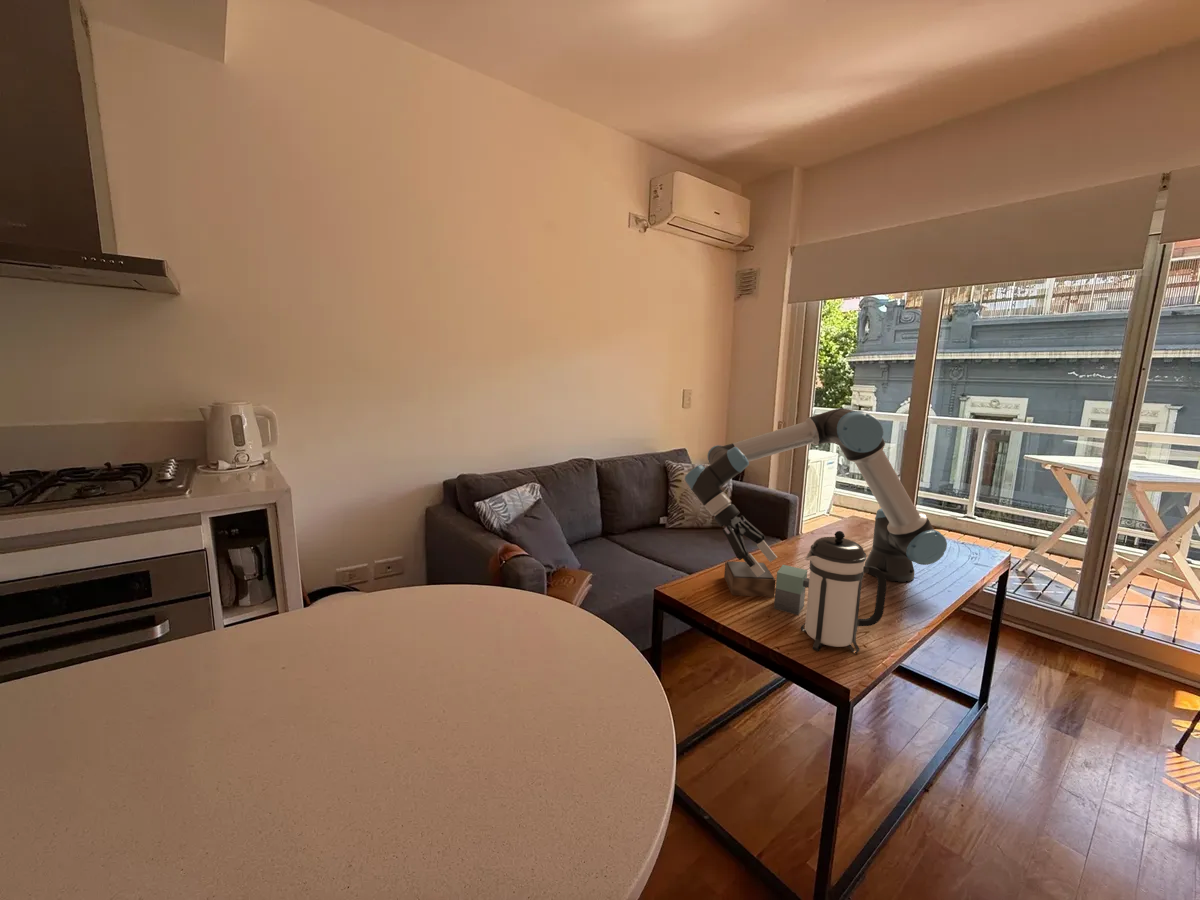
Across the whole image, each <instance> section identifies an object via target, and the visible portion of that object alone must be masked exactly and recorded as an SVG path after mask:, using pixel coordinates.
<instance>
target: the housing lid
mask: <svg viewBox="0 0 1200 900" xmlns="http://www.w3.org/2000/svg"><path fill="white" fill-rule="evenodd" d="M807 576H808V569H804V568H800V567H795V566H791V565H786V564H782V565H781V567H780V568H779V570H777V572H776V579H775V580H776V582H775V588H776V589H780V590H784V591H788V592H792V593H796V594H800V595H801V594H802V592H803V590H804V588H805V587H806V588H809V578H808V577H807ZM806 588H805V589H806Z"/></svg>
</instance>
